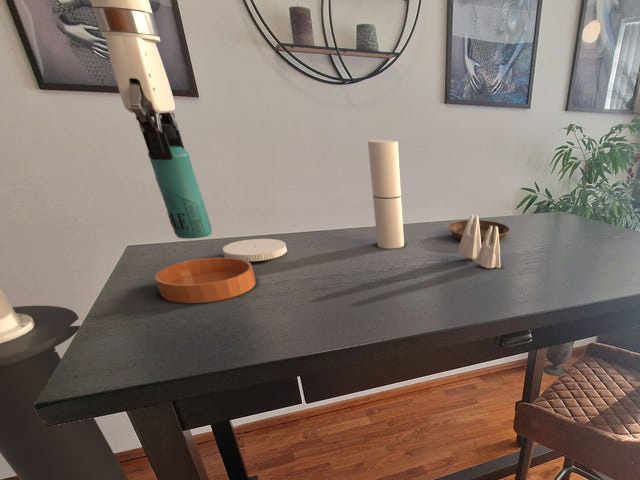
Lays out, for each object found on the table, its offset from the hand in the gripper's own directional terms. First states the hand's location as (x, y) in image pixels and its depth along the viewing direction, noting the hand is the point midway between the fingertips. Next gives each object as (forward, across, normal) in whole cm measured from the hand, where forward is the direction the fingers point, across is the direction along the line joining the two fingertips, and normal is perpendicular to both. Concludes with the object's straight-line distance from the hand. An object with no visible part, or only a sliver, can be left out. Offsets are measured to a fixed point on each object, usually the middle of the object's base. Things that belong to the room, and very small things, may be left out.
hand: (169, 156), depth 78 cm
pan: (+24, 0, 0) cm, 24 cm away
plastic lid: (+24, -20, +6) cm, 32 cm away
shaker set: (+24, -7, +59) cm, 64 cm away
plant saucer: (+24, -30, +65) cm, 76 cm away
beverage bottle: (+15, 0, 0) cm, 15 cm away
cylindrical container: (+24, -26, +39) cm, 53 cm away
